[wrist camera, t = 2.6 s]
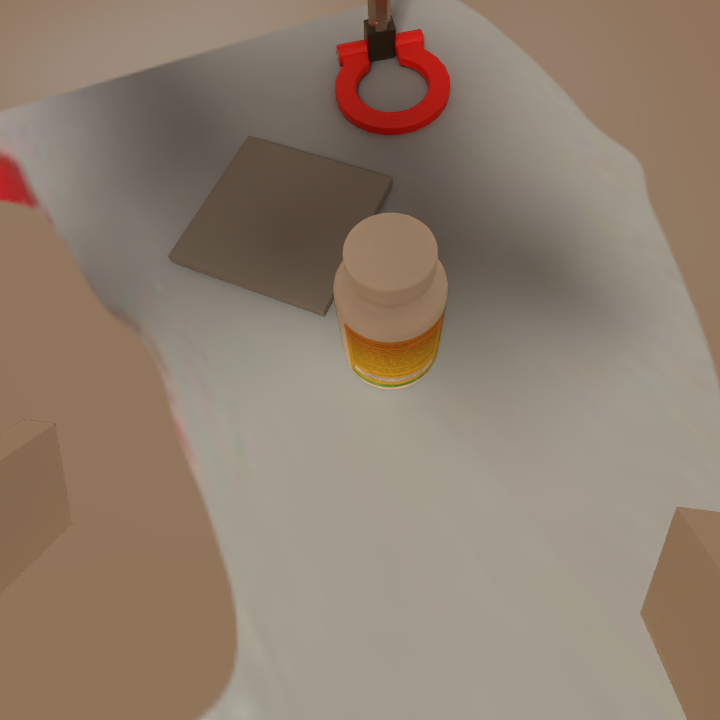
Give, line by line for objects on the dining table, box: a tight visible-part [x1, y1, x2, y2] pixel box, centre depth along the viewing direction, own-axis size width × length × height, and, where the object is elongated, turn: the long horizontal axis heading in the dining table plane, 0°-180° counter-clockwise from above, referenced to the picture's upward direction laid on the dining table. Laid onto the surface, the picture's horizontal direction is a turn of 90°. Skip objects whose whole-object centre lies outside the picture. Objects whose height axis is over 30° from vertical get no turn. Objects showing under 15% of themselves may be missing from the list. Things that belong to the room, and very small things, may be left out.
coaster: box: [168, 136, 392, 316], centre depth 34 cm, size 11×11×1 cm
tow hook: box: [335, 0, 450, 135], centre depth 33 cm, size 8×13×9 cm
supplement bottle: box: [333, 213, 448, 390], centre depth 26 cm, size 5×5×10 cm
